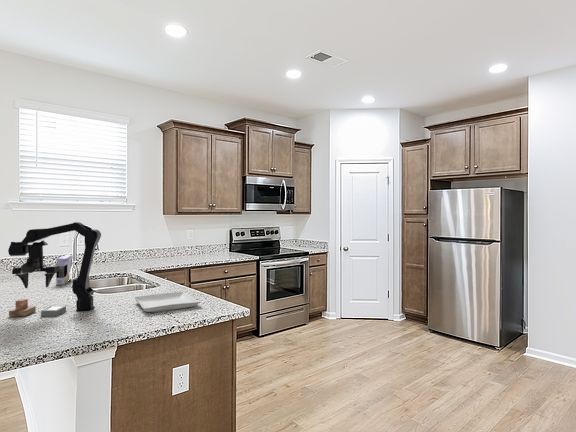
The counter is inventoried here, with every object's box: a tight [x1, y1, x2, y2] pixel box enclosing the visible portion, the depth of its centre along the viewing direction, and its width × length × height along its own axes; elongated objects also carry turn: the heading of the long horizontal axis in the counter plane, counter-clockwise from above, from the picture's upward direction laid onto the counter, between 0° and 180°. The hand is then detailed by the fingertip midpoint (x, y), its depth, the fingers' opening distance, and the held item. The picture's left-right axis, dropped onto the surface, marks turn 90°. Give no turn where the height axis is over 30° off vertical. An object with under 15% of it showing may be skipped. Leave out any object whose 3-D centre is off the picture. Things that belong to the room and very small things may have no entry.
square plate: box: [133, 291, 200, 313], centre depth 190 cm, size 27×27×4 cm
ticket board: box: [40, 305, 67, 317], centre depth 173 cm, size 7×8×3 cm
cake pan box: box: [55, 254, 74, 286], centre depth 248 cm, size 19×5×18 cm, turn 14°
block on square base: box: [8, 298, 37, 317], centre depth 172 cm, size 7×8×6 cm
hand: (36, 287), depth 176 cm, fingers open, 9 cm apart
